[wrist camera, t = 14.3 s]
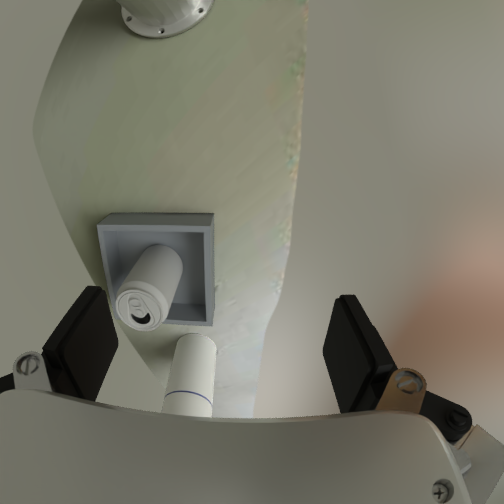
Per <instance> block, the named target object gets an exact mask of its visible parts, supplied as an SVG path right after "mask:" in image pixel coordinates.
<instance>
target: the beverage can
mask: <svg viewBox="0 0 504 504" xmlns="http://www.w3.org/2000/svg"><path fill="white" fill-rule="evenodd" d="M182 272H183V263H182V260H181V258H180V256H179V255H178V254H177V253H176V252H175V251H174V250H173V249H171V248H170V247H167V246H164V245H154V246H151V247H149V248H147V249H146V250H145V251H144V252H143V254H142V255H141V257H140V258H139V260H138V261H137V262H136V264H135V265H134V267H133V268H132V270H131V271H130V273H129V274H128V276H127V277H126V279H125V280H124V282H123V284H122V285H121V287H120V288H119V290H118V292H117V296H116V311H117V314H118V316H119V317H120V319H121V320H122V321H123V322H124V323H125V324H126V325H128V326H129V327H131V328H133V329H136V330H139V331H151V330H154V329H156V328H157V327H158V326H159V325H160V324H161V323H162V322H164V320H165V319H166V318H167V315H168V312H169V309H170V307H171V304H172V301H173V298H174V295H175V292H176V289H177V286H178V283H179V281H180V278H181V275H182Z"/></svg>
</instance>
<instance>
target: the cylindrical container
mask: <svg viewBox="0 0 504 504" xmlns="http://www.w3.org/2000/svg"><path fill="white" fill-rule="evenodd" d="M216 351H217V350H216V345H215V343H214V342H213V341H212V340H211V339H210V338H208V337H206V336H204V335H201V334H195V333H192V334H186V335H184V336H182V337H181V338H180V339H179V340H178V342H177V345H176V349H175V353H174V357H173V362H172V366H171V370H170V375H169V379H168V384H167V388H166V393H165V398H164V402H163V407H162V412H161V413H166V414H175V415H185V416H197V417H212V403H213V389H214V375H215V363H216Z"/></svg>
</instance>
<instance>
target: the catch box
mask: <svg viewBox="0 0 504 504" xmlns="http://www.w3.org/2000/svg"><path fill="white" fill-rule="evenodd" d="M97 230H98V237H99V244H100V250H101V255H102V261H103V266H104V272H105V277H106V281H107V286H108V291H109V295H110V299H111V304H112V308H113V312H114V316H115V319H119V320H121V319H120V317H119V316H118V314H117V311H116V296H117V292H118V290H119V288H120V287H121V285H122V284H123V282H124V280H125V279H126V277H127V276H128V274H129V273H130V271H131V270H132V268H133V267H134V265H135V264H136V262H137V261H138V260H139V258H140V257H141V255H142V254H143V252H144V251H145V250H146V249H147V248H149V247H151V246H154V245H164V246H167V247H170V248H171V249H173V250H174V251H175V252H176V253H177V254H178V255H179V256H180V258H181V260H182V263H183V272H182V275H181V278H180V281H179V283H178V286H177V289H176V292H175V295H174V298H173V301H172V304H171V307H170V309H169V312H168V315H167V318H166V319H165V320H164V322H162V323H163V324H178V325H195V326H212V325H213V317H214V309H215V292H214V214H211V213H111V214H110V215H108V216H107V217H106V218H104V219H103V220H102V221H101V222H100V223H98V224H97Z"/></svg>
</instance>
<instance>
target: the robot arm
mask: <svg viewBox="0 0 504 504" xmlns="http://www.w3.org/2000/svg"><path fill="white" fill-rule="evenodd" d="M115 1H116V2H118V3H119V4H120V5H121V6H122V8H121V13H122V18H123V20H124V22H125V24H126V25H127V26H128V27H129V29H131V30H132V31H133V32H135V33H137V34H139V35H141V36H144V37H148V38H166V37H170V36H175V35H177V34H180V33H183V32H185V31H187V30H189V29H190V28H192V27H193V26H195V25H196V24H198V23H199V22H200V21H201V20H202V19H203V18H204V17H205V16H206V15H207V13H208V12H209V11H210V9H211V7H212V5H213V3H214V0H115ZM201 11H202V13H200V12H201ZM131 19H132V20H131ZM130 20H131V21H130ZM163 31H165V32H164V33H162V32H163ZM161 33H162V34H161ZM117 348H118V338H117V334H116V331H115V327H114V323H113V320H112V316H111V312H110V308H109V304H108V300H107V296H106V292H105V291H104V290H102V288H101V287H100V286H87V287H86V288H85V289H84V291H83V292H82V293H81V295H80V296H79V297H78V298H77V300H76V301H75V303H74V304H73V305H72V306H71V308H70V309H69V310H68V312H67V313H66V315H65V316H64V317H63V319H62V320H61V321H60V323H59V324H58V326H57V327H56V329H55V330H54V331H53V333H52V334H51V336H50V337H49V339H48V340H47V342H46V343H45V345H44V346H43V348H42V349H43V352H42V354H39V353H37V352H33V351H31V352H26V353H24V354H21V355H20V356H19V357H18V358H17V359H16V360H15V362H14V365H13V373H11V374H8V375H6V376H4V377H1V378H0V504H485V503H486V501H487V499H488V498H489V496H490V495H491V493H492V491H493V490H494V488H495V486H496V485H497V483H498V481H499V479H500V477H501V476H502V474H503V472H504V445H503V444H502V443H500V442H499V441H498V440H496V439H495V438H494V437H493V436H491V435H490V434H489V433H488V432H486V431H485V430H484V429H482V428H481V427H480V426H479V425H476V426H475V427H474V426H473V425H472V418H471V415H470V413H469V412H468V411H467V410H466V409H465V408H464V407H462V406H460V405H458V404H455V403H453V402H451V401H449V400H447V399H444V398H442V397H440V396H438V395H435V394H433V393H431V392H429V391H426V387H427V383H426V380H425V379H424V377H423V376H422V375H421V374H420V373H419V372H417V371H416V370H414V369H410V368H400V369H398V368H397V366H396V365H395V362H394V361H393V359H392V357H391V355H390V353H389V351H388V349H387V348H386V346H385V344H384V342H383V340H382V338H381V337H380V335H379V333H378V331H377V330H376V328H375V327H374V326H373V325H372V323H371V322H370V320H369V318H368V316H367V315H366V313H365V311H364V310H363V308H362V306H361V304H360V303H359V301H358V299H357V297H356V296H355V295H341V296H340V297H339V298H337V299H336V300H335V303H334V307H333V311H332V315H331V320H330V323H329V327H328V331H327V335H326V338H325V342H324V346H323V356H324V360H325V363H326V366H327V369H328V372H329V376H330V379H331V382H332V385H333V389H334V392H335V396H336V399H337V402H338V406H339V409H340V413H341V414H332V415H320V416H306V417H290V418H259V419H258V418H255V419H254V418H213V417H197V416H185V415H175V414H166V413H157V412H150V411H143V410H136V409H130V408H124V407H119V406H113V405H108V404H103V403H99V402H95V400H96V398H97V395H98V393H99V390H100V388H101V385H102V383H103V380H104V378H105V376H106V373H107V371H108V368H109V366H110V364H111V362H112V359H113V357H114V355H115V352H116V350H117Z"/></svg>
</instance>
